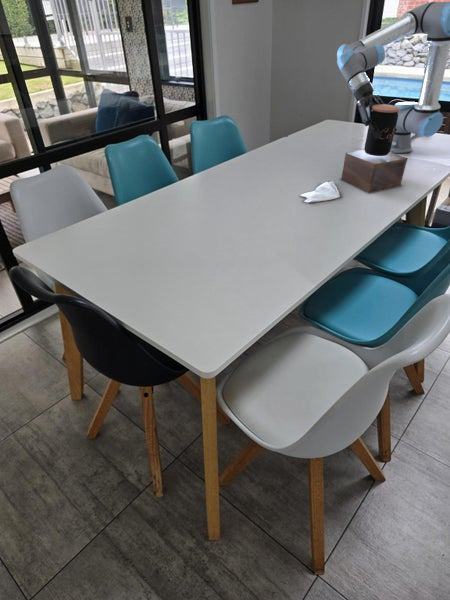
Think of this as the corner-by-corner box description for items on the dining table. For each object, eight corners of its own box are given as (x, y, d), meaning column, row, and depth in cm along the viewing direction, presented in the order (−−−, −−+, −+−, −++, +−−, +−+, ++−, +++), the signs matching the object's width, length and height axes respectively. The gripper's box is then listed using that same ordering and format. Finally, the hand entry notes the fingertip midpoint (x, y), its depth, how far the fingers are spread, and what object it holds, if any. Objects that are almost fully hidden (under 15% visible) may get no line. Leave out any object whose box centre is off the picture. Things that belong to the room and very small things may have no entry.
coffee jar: (376, 158, 170) (386, 111, 159) (358, 151, 177) (366, 106, 166) (395, 154, 174) (406, 108, 163) (376, 147, 181) (386, 103, 170)
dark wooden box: (371, 172, 193) (377, 146, 186) (400, 185, 180) (407, 158, 173) (341, 179, 186) (345, 152, 179) (368, 193, 174) (374, 164, 166)
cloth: (321, 207, 162) (321, 202, 161) (292, 198, 170) (293, 193, 168) (354, 189, 177) (355, 184, 176) (327, 181, 185) (328, 176, 183)
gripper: (370, 90, 178) (394, 134, 178) (338, 97, 166) (363, 145, 166) (383, 78, 172) (408, 124, 172) (351, 84, 160) (378, 134, 160)
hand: (386, 134), depth 169 cm, fingers closed on coffee jar, 11 cm apart
